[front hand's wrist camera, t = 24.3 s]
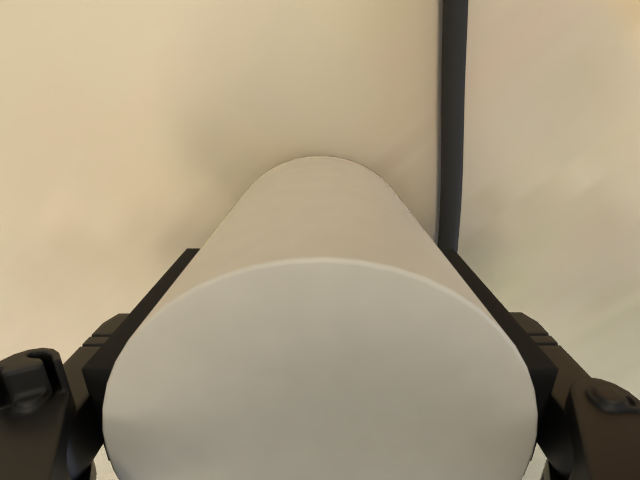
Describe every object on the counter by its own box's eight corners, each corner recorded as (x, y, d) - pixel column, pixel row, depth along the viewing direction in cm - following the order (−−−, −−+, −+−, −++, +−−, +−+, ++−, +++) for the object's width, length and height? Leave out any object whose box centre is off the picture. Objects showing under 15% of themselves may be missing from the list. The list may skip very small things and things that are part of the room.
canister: (444, 201, 16) (638, 365, 6) (361, 344, 19) (406, 611, 9) (266, 122, 15) (164, 171, 5) (206, 288, 18) (65, 525, 8)
